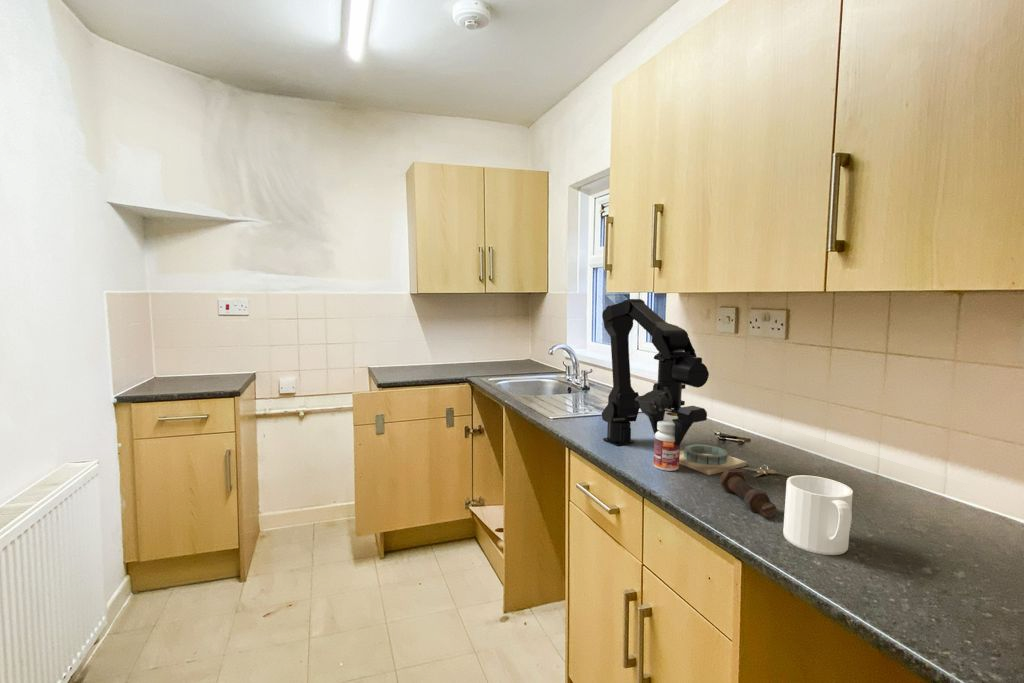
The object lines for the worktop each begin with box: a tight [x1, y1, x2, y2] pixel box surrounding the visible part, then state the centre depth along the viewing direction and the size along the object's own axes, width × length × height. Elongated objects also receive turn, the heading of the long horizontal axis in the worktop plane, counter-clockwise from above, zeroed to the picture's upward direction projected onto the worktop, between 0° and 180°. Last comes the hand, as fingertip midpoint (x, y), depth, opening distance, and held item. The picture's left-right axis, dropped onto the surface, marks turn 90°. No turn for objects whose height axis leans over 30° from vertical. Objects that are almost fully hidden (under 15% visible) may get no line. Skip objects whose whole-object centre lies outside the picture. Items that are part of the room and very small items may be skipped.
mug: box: [782, 474, 854, 556], centre depth 90 cm, size 13×10×10 cm
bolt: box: [719, 468, 778, 518], centre depth 107 cm, size 6×5×15 cm
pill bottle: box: [653, 420, 681, 472], centre depth 128 cm, size 6×6×11 cm
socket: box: [679, 443, 748, 476], centre depth 133 cm, size 14×14×3 cm
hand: (667, 441), depth 128 cm, fingers closed on pill bottle, 6 cm apart
